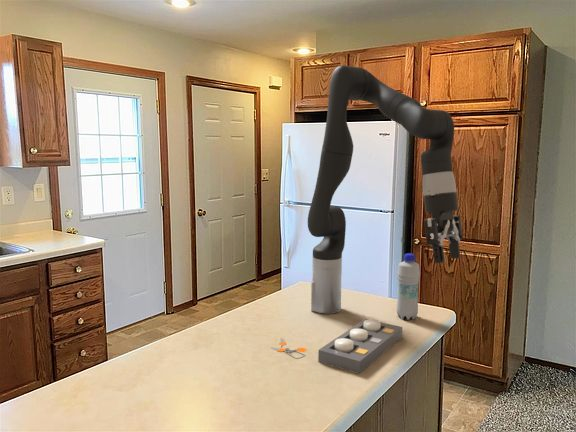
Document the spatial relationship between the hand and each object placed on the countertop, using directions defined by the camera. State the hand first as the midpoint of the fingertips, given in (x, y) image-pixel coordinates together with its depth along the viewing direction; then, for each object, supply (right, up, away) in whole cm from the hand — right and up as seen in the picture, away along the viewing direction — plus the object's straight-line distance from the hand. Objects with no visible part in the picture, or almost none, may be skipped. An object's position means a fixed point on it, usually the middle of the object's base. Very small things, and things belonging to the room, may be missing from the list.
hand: (447, 260), depth 114 cm
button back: (-15, -21, +17) cm, 31 cm away
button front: (-24, -22, +4) cm, 33 cm away
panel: (-19, -24, +10) cm, 32 cm away
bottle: (-1, -21, +33) cm, 39 cm away
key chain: (-38, -24, +11) cm, 46 cm away
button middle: (-20, -21, +11) cm, 31 cm away
